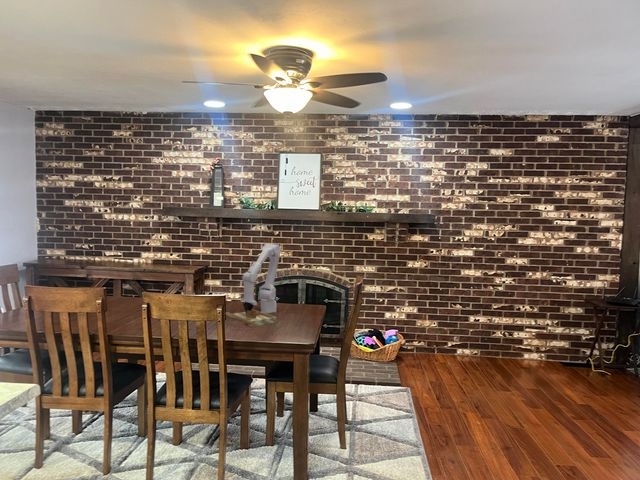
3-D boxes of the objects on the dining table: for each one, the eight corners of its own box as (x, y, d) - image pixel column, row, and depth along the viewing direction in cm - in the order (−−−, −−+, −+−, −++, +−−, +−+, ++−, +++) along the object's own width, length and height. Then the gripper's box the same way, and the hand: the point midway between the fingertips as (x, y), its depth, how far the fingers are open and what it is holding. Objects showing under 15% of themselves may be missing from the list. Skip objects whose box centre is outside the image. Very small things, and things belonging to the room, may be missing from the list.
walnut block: (252, 316, 263) (252, 309, 263) (256, 317, 260) (256, 311, 260) (246, 317, 261) (246, 310, 260) (250, 318, 258) (250, 311, 257)
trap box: (250, 313, 277) (250, 308, 277) (276, 322, 257) (276, 317, 257) (225, 317, 265) (225, 312, 265) (250, 326, 245) (250, 321, 245)
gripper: (236, 291, 265) (235, 313, 266) (249, 295, 254) (249, 318, 255) (246, 290, 270) (245, 312, 270) (260, 294, 259) (259, 316, 260)
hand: (248, 315), depth 263 cm, fingers closed
